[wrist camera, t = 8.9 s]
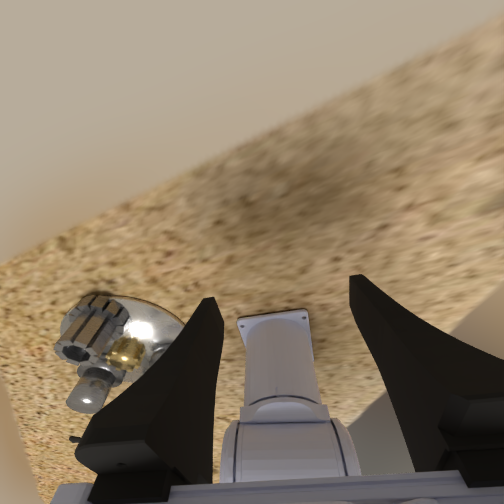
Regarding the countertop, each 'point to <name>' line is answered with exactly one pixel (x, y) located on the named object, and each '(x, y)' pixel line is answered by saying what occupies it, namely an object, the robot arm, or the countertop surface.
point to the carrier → (124, 353)
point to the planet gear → (91, 329)
